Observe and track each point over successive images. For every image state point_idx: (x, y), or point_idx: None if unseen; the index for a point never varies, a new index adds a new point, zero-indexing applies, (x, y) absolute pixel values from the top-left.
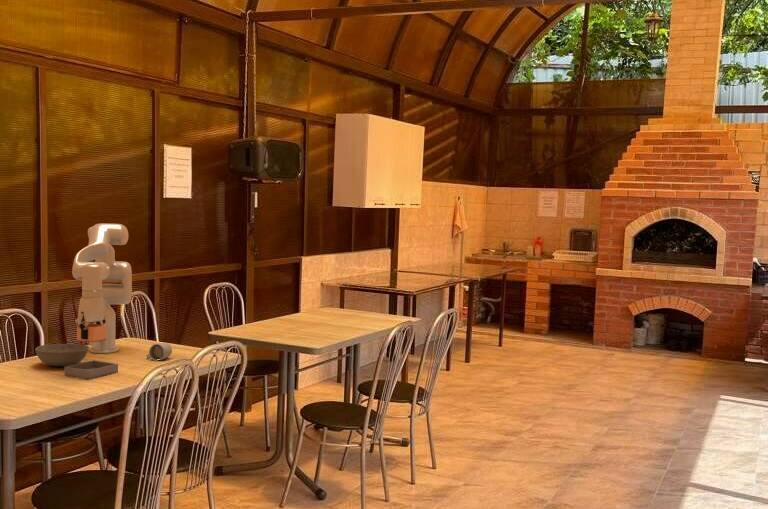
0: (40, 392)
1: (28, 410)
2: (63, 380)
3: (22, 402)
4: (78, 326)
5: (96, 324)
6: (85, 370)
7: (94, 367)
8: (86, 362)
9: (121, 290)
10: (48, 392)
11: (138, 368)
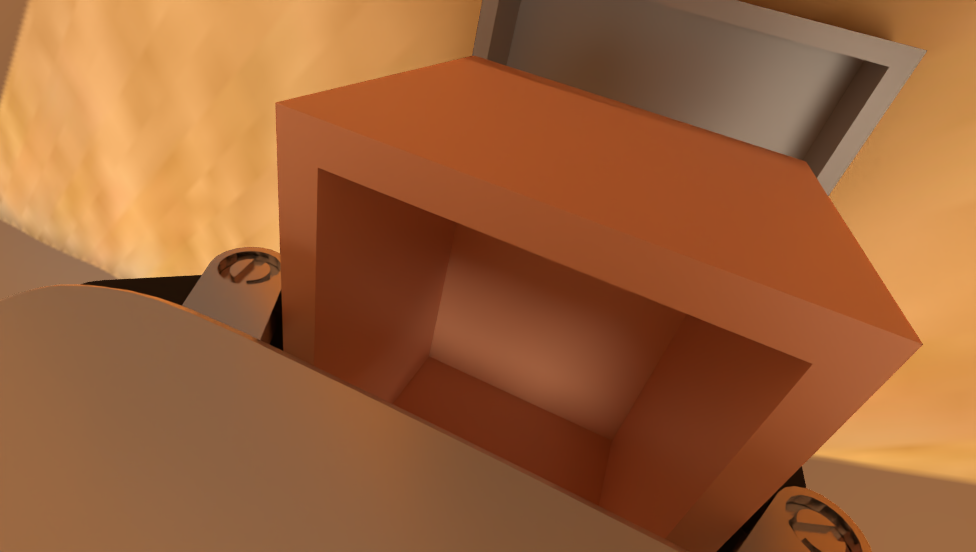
0: (164, 96)
1: (41, 204)
2: (391, 52)
3: (56, 122)
4: (296, 157)
5: (671, 532)
6: None
7: (860, 69)
8: (769, 33)
9: None
10: (185, 135)
11: (898, 411)
